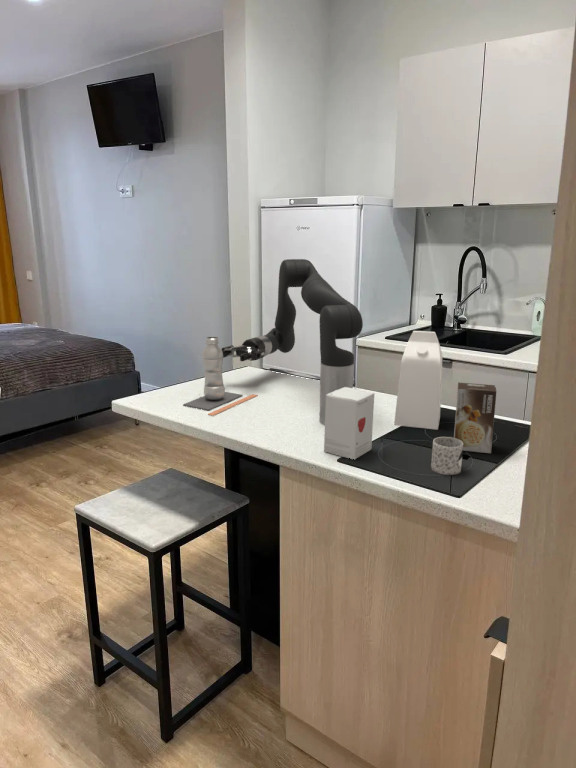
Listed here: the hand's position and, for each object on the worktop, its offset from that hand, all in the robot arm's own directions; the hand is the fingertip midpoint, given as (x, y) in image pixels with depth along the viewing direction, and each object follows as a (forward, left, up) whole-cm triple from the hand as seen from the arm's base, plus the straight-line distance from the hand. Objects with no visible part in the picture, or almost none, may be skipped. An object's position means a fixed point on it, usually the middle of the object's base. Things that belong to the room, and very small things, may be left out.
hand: (230, 356), depth 182 cm
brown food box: (-80, +8, -13) cm, 81 cm away
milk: (-62, -5, -13) cm, 64 cm away
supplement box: (-54, +26, -13) cm, 61 cm away
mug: (-77, +23, -13) cm, 81 cm away
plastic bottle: (0, +9, -12) cm, 16 cm away
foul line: (-8, +10, -13) cm, 18 cm away
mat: (0, +10, -13) cm, 16 cm away
